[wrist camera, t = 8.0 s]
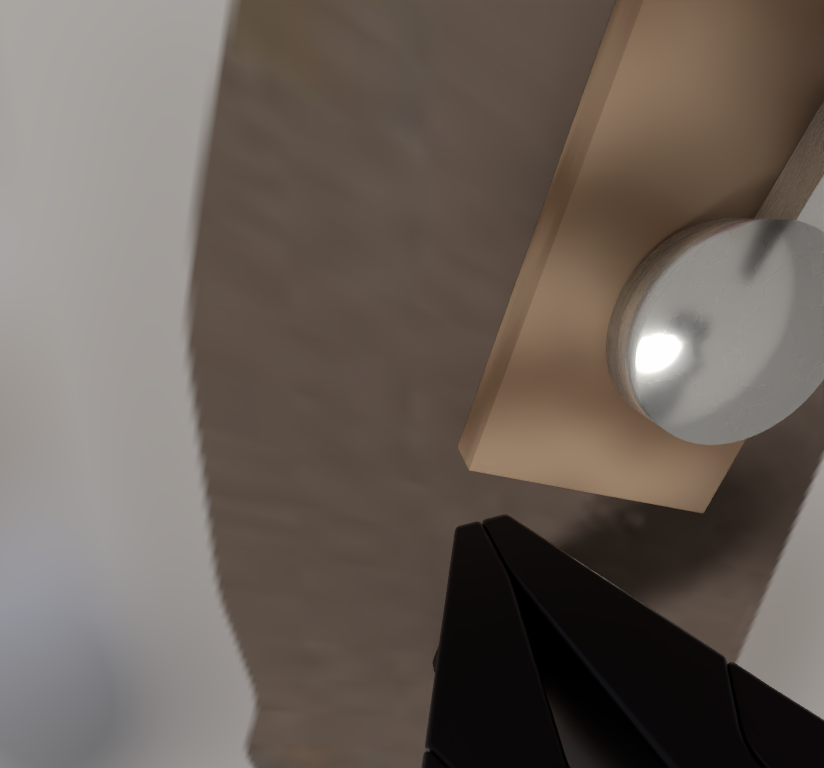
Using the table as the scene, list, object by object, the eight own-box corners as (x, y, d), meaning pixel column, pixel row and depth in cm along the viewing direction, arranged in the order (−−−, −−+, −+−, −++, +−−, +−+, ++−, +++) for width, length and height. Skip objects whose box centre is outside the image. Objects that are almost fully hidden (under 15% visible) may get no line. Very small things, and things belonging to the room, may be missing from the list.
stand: (674, 489, 23) (709, 518, 21) (457, 446, 20) (471, 475, 18) (914, 45, 17) (999, 20, 15) (651, -100, 14) (708, -158, 12)
